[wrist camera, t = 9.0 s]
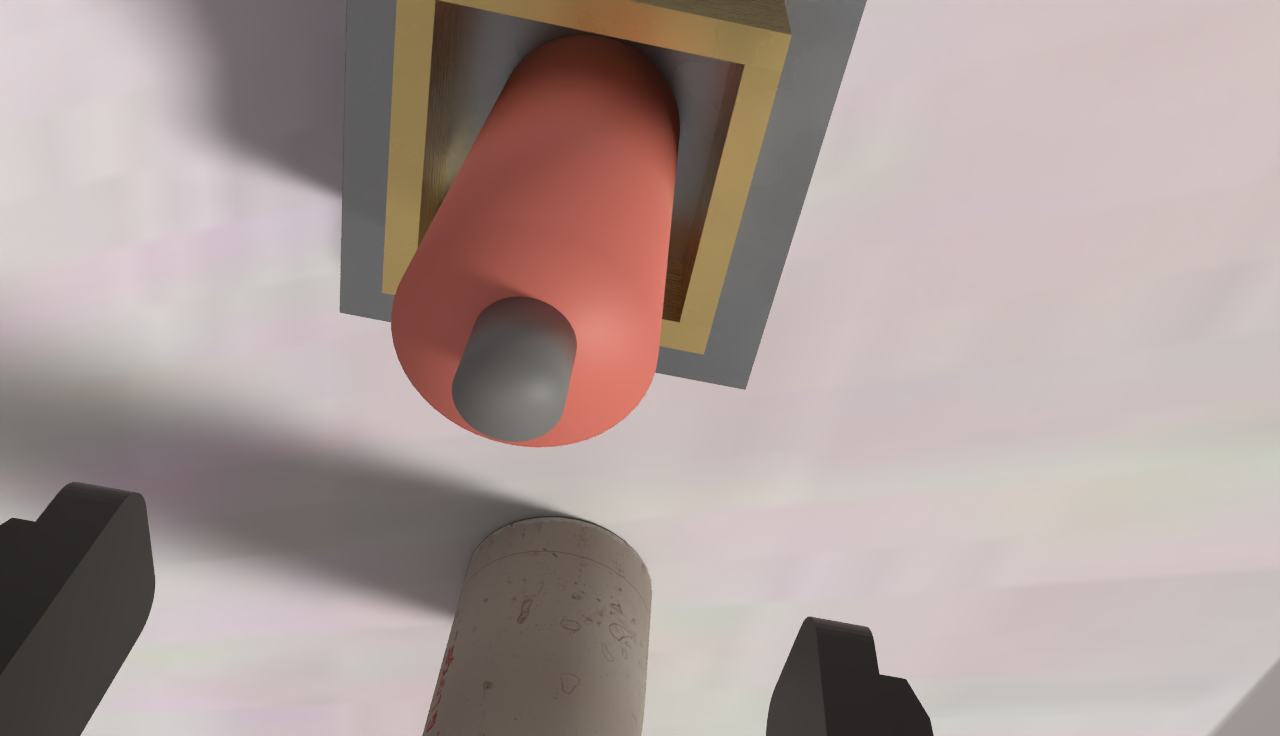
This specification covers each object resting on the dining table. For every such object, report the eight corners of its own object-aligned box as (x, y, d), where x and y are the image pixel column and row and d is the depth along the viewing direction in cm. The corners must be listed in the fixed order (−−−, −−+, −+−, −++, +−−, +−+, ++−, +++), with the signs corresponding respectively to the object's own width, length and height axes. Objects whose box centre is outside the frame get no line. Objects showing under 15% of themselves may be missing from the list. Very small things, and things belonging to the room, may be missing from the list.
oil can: (511, 15, 24) (371, 239, 15) (698, 58, 24) (682, 305, 15) (488, 189, 27) (357, 476, 17) (658, 226, 27) (622, 528, 17)
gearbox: (419, -261, 26) (305, -232, 19) (868, -159, 27) (928, -94, 20) (389, 294, 36) (305, 457, 28) (720, 358, 37) (722, 533, 29)
